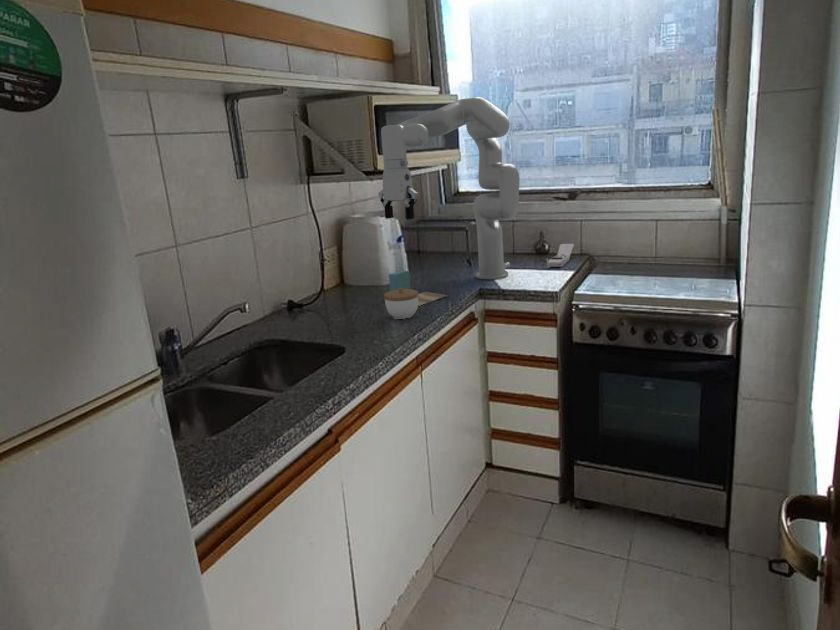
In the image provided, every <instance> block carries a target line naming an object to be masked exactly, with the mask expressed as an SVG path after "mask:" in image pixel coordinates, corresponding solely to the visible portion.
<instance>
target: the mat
mask: <svg viewBox="0 0 840 630" xmlns="http://www.w3.org/2000/svg"><path fill="white" fill-rule="evenodd" d="M445 296H448V294H442V293H441V294H440V293H435V292H428V291H424V292H423V291H422V292H421V293H418V306H421V305H423V304H426V303H428V302H431V301H434V300H436V299H439V298H442V297H445ZM426 305H427V304H426ZM423 306H424V305H423ZM421 307H422V306H421Z"/></svg>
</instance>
